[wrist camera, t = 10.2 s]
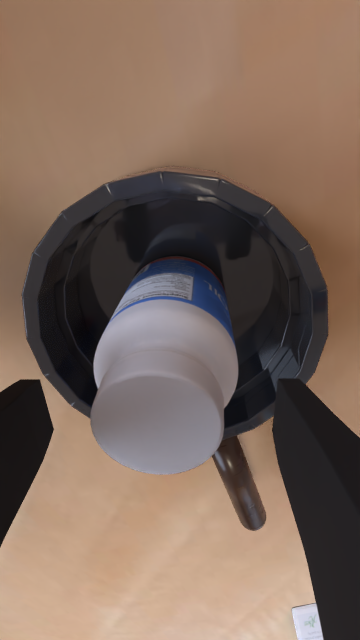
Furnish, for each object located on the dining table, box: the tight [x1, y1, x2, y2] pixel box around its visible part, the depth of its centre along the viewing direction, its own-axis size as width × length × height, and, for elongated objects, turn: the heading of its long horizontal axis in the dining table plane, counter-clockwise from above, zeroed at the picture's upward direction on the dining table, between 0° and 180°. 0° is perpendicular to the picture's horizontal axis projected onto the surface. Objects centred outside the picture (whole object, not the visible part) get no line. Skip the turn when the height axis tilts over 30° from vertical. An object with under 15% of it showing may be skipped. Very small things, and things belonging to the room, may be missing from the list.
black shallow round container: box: [22, 166, 328, 441], centre depth 17 cm, size 13×13×4 cm
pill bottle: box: [90, 256, 238, 475], centre depth 14 cm, size 6×5×10 cm
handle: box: [212, 435, 266, 531], centre depth 21 cm, size 10×2×2 cm, turn 20°
